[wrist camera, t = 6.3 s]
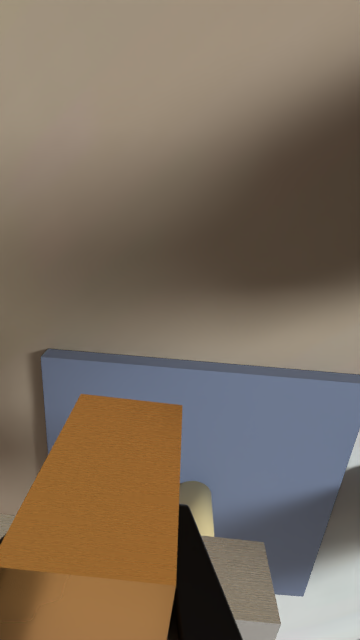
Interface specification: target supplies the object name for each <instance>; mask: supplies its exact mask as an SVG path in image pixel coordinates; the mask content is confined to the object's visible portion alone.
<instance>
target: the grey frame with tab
mask: <svg viewBox="0 0 360 640" xmlns="http://www.w3.org/2000/svg"><path fill="white" fill-rule="evenodd" d="M182 406H183V405H177V404H168V403H159V402H150V401H141V400H132V399H123V398H114V397H105V396H97V395H88V394H81V395H80V396H79V398H78V400H77V402H76V404H75V406H74V408H73V410H72V411H71V413H70V415H69V417H68V419H67V421H66V423H65V425H64V426H63V428H62V430H61V432H60V434H59V436H58V438H57V440H56V441H55V443H54V445H53V447H52V449H51V451H50V453H49V455H48V456H47V458H46V460H45V462H44V464H43V466H42V468H41V470H40V471H39V473H38V475H37V477H36V479H35V481H34V483H33V485H32V486H31V488H30V490H29V492H28V494H27V496H26V498H25V500H24V501H23V503H22V505H21V507H20V509H19V511H18V513H17V515H16V516H14V515H5V514H0V539H1V538H2V537H3V536H4V535H5V534H6V535H5V537H4V539H3V541H2V543H1V545H0V640H167V635H168V630H169V624H170V618H171V612H172V606H173V600H174V595H175V589H176V573H177V545H178V517H179V490H180V462H181V434H182ZM201 537H202V539H203V542H204V544H205V547H206V549H207V552H208V554H209V557H210V559H211V562H212V564H213V567H214V569H215V572H216V574H217V577H218V579H219V581H220V584H221V586H222V589H223V591H224V594H225V596H226V599H227V601H228V604H229V606H230V609H231V611H232V614H233V616H234V619H235V621H236V624H237V626H238V628H239V631H240V633H241V636H242V638H243V640H275V638H276V636H277V633H278V630H279V628H280V625H281V622H280V617H279V613H278V608H277V603H276V598H275V593H274V589H273V584H272V579H271V574H270V569H269V565H268V560H267V555H266V550H265V545H264V542H258V541H248V540H239V539H230V538H220V537H211V536H201Z"/></svg>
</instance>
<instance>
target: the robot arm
mask: <svg viewBox="0 0 360 640" xmlns="http://www.w3.org/2000/svg"><path fill="white" fill-rule="evenodd" d="M5 535H6V534H5ZM5 535H4V536H3V537H2V538H1V539H0V545H1V543H2V541H3V539H4V537H5ZM167 640H243V638H242V636H241V633H240V631H239V628H238V626H237V624H236V621H235V619H234V616H233V614H232V611H231V609H230V606H229V604H228V601H227V599H226V596H225V594H224V591H223V589H222V586H221V584H220V581H219V579H218V577H217V574H216V572H215V569H214V567H213V564H212V562H211V559H210V557H209V554H208V552H207V549H206V547H205V544H204V542H203V539H202V537H201V534H200V532H199V530H198V527H197V525H196V522H195V520H194V517H193V515H192V512H191V510H190V508H189V506H188V505H186V504H179V517H178V545H177V573H176V589H175V595H174V600H173V606H172V612H171V618H170V624H169V630H168V635H167Z"/></svg>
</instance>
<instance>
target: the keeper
mask: <svg viewBox="0 0 360 640" xmlns="http://www.w3.org/2000/svg"><path fill="white" fill-rule="evenodd" d="M41 367H42V380H43V393H44V406H45V419H46V432H47V445H48V455H49V453H50V451H51V449H52V447H53V445H54V443H55V441H56V440H57V438H58V436H59V434H60V432H61V430H62V428H63V426H64V425H65V423H66V421H67V419H68V417H69V415H70V413H71V411H72V410H73V408H74V406H75V404H76V402H77V400H78V398H79V396H80V395H81V394H88V395H97V396H105V397H114V398H123V399H132V400H141V401H150V402H159V403H168V404H177V405H183V406H182V434H181V462H180V490H179V504H186V505H188V506H189V508H190V510H191V512H192V515H193V517H194V520H195V522H196V525H197V527H198V530H199V532H200V534H201V536H211V537H220V538H230V539H239V540H248V541H258V542H264V545H265V550H266V555H267V560H268V565H269V569H270V574H271V579H272V584H273V589H274V593H275V594H278V595H291V596H304V593H305V590H306V587H307V584H308V581H309V578H310V575H311V572H312V569H313V566H314V563H315V560H316V557H317V554H318V551H319V548H320V545H321V542H322V539H323V536H324V533H325V530H326V527H327V524H328V521H329V518H330V515H331V512H332V509H333V506H334V503H335V500H336V497H337V494H338V491H339V488H340V485H341V482H342V479H343V476H344V473H345V470H346V467H347V464H348V461H349V458H350V455H351V452H352V450H353V447H354V444H355V441H356V438H357V435H358V432H359V429H360V375H356V374H344V373H332V372H320V371H308V370H296V369H284V368H272V367H260V366H248V365H237V364H225V363H213V362H201V361H189V360H177V359H165V358H153V357H141V356H129V355H117V354H105V353H93V352H81V351H69V350H57V349H47V350H46V352H45V353H44V354H43V355H42V356H41Z"/></svg>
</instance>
